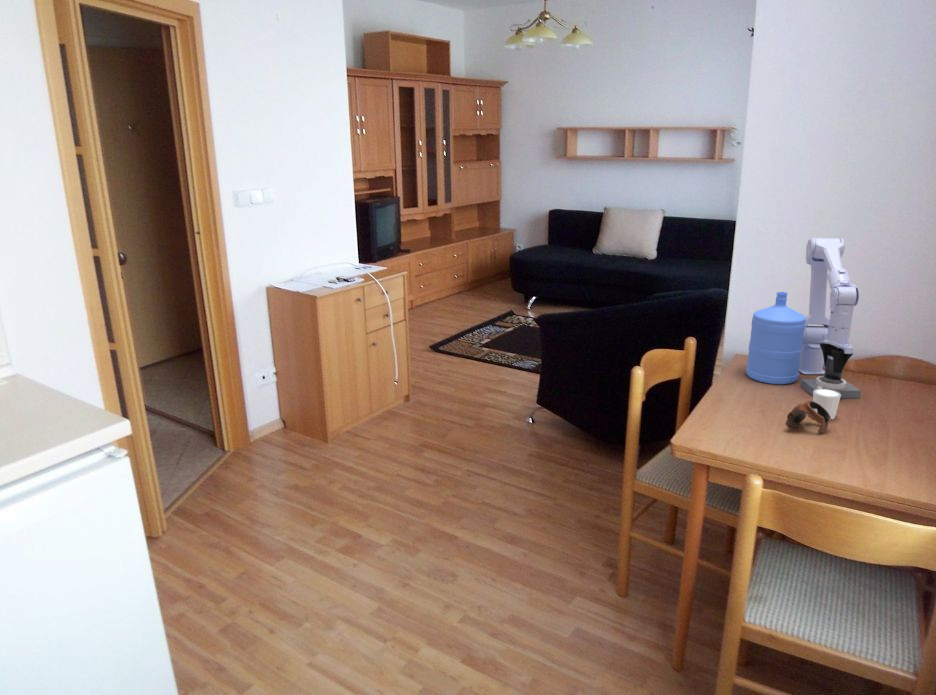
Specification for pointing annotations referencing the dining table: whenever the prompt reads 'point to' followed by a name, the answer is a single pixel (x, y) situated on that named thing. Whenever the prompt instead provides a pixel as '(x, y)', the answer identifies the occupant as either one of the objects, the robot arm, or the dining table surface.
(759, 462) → the dining table surface
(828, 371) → the lens
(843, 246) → the robot arm
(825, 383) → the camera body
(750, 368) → the water jug
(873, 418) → the dining table surface
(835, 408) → the white cup
